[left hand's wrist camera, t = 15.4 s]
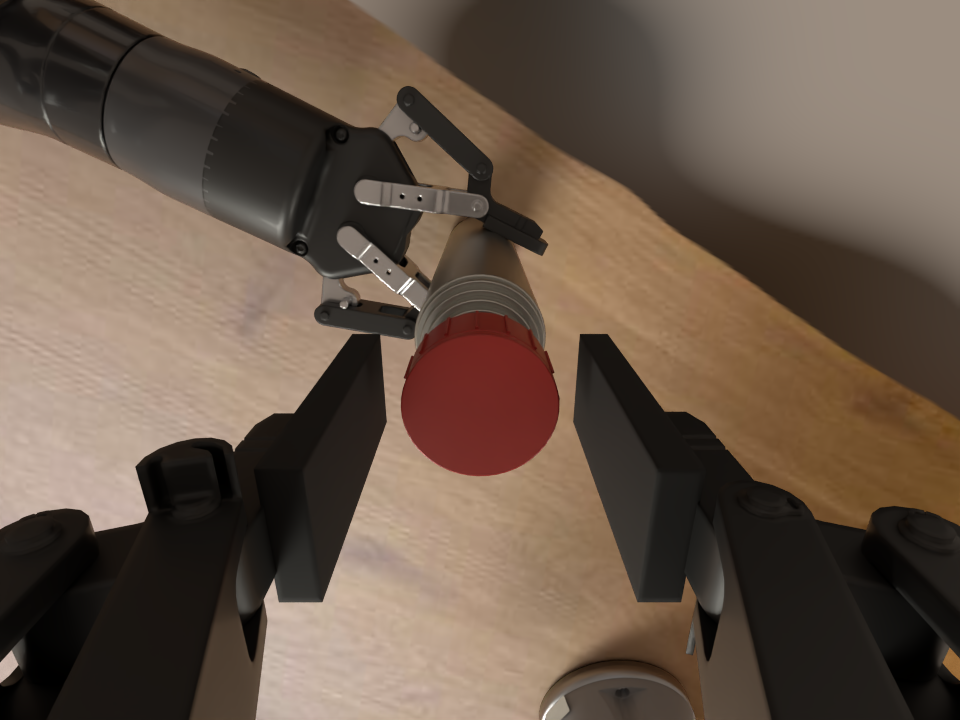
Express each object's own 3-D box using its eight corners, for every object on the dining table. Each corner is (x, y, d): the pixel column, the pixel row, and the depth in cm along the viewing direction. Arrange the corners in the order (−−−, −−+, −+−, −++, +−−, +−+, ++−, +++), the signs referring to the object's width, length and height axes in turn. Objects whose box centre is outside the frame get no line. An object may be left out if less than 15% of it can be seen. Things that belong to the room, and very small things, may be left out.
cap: (578, 356, 14) (593, 385, 12) (502, 461, 15) (505, 501, 14) (455, 283, 13) (451, 301, 12) (384, 399, 15) (371, 433, 13)
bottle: (471, 294, 36) (458, 501, 14) (434, 240, 35) (355, 378, 13) (525, 258, 35) (600, 421, 13) (489, 202, 34) (506, 279, 12)
